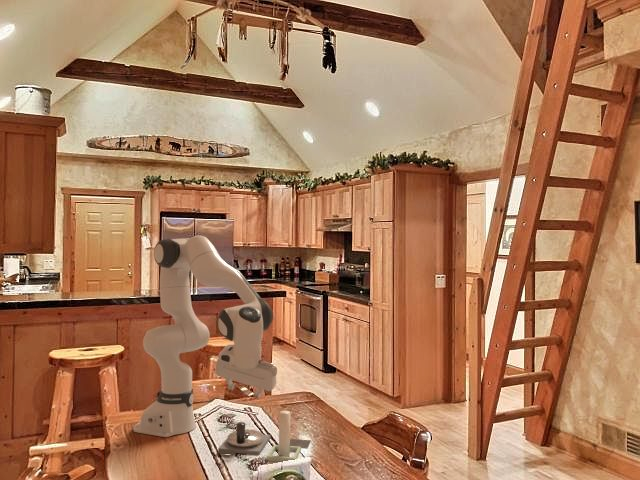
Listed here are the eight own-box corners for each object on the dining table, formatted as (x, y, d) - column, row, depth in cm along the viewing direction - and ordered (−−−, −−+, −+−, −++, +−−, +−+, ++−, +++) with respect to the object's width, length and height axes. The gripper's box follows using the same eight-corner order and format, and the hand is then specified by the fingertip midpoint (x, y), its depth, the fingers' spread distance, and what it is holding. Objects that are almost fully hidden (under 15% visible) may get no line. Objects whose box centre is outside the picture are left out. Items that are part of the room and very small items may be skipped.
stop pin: (277, 457, 159) (278, 413, 159) (280, 452, 162) (280, 410, 162) (288, 458, 158) (289, 414, 158) (290, 453, 162) (291, 410, 162)
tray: (266, 463, 156) (266, 456, 156) (273, 451, 165) (274, 444, 165) (295, 465, 155) (295, 458, 155) (300, 453, 164) (300, 446, 164)
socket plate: (287, 449, 167) (287, 446, 167) (291, 441, 174) (291, 438, 174) (307, 451, 166) (307, 448, 166) (311, 443, 172) (311, 440, 172)
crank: (221, 446, 163) (222, 424, 163) (234, 432, 175) (234, 411, 175) (257, 449, 161) (257, 426, 161) (267, 435, 173) (267, 413, 173)
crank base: (218, 454, 163) (218, 447, 163) (232, 438, 176) (232, 431, 176) (259, 457, 160) (259, 451, 160) (270, 440, 174) (270, 434, 174)
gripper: (281, 360, 157) (277, 396, 161) (223, 343, 162) (221, 379, 166) (273, 370, 151) (270, 407, 156) (213, 353, 156) (211, 389, 161)
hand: (244, 392), depth 161 cm, fingers open, 8 cm apart
